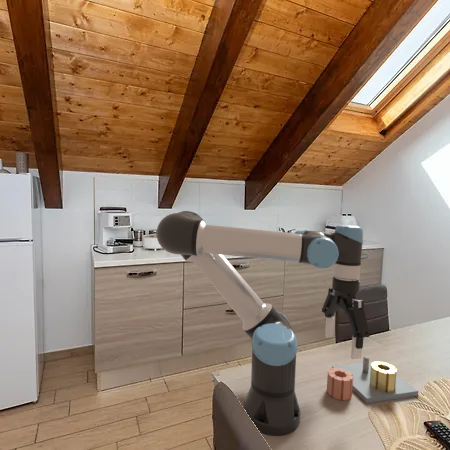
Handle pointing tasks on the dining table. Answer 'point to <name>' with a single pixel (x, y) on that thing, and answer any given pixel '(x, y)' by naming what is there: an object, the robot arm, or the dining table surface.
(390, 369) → the gear brass
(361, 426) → the dining table surface
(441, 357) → the dining table surface
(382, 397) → the peg board
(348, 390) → the gear red
